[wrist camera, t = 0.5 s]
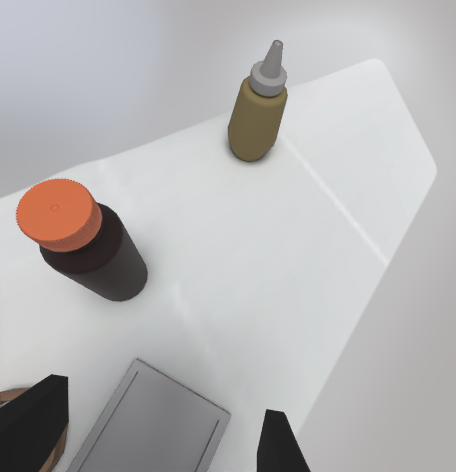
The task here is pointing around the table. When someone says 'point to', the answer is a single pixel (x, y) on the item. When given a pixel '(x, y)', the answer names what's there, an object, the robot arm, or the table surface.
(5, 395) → the ring
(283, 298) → the table surface
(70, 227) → the vinegar
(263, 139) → the squeeze bottle
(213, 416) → the tray
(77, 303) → the table surface
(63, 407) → the robot arm
